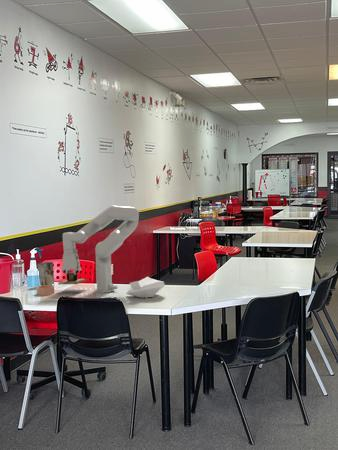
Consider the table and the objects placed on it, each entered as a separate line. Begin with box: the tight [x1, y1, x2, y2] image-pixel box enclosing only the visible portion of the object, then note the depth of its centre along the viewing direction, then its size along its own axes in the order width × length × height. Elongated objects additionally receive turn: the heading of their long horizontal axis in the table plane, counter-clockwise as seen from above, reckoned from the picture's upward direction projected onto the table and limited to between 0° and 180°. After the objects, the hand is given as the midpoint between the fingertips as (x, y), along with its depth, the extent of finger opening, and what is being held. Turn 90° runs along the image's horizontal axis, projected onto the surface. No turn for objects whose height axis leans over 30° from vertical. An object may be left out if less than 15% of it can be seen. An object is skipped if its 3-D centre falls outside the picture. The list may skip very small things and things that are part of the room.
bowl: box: [35, 285, 55, 297], centre depth 363 cm, size 10×10×5 cm
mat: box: [54, 288, 88, 296], centre depth 367 cm, size 15×15×1 cm
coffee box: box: [36, 261, 55, 286], centre depth 394 cm, size 9×6×16 cm
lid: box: [57, 271, 87, 285], centre depth 367 cm, size 13×13×6 cm
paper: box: [125, 276, 166, 299], centre depth 346 cm, size 25×24×12 cm
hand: (72, 280), depth 367 cm, fingers closed on lid, 4 cm apart
